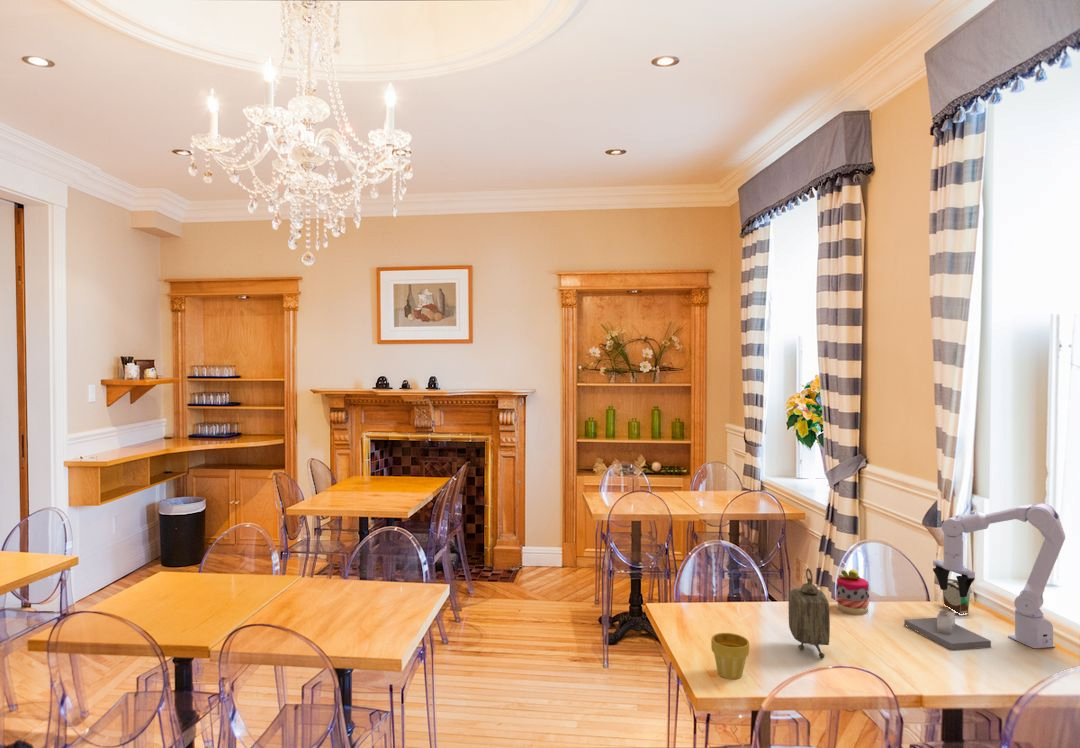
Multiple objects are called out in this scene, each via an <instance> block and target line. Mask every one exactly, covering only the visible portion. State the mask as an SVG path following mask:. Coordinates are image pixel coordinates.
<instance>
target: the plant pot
mask: <svg viewBox="0 0 1080 748" xmlns="http://www.w3.org/2000/svg"><path fill="white" fill-rule="evenodd" d="M710 640H711V643H710V644H711V651H712V652H713V655H714V659H715V660H714V661H715V665H716V671H717V674H718V675H719V676H720V677H721V678H724V679H728V680H739V679H741V678H742V677H743V673H744V668H745V664H746V659H747V657H749V655H750V640H749V639H748V638H746V637H745V636H742V635H740V634H736V633H733V632H719V633H715V634H713V635H712V637H711V639H710Z"/></svg>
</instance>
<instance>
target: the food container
mask: <svg viewBox="0 0 1080 748" xmlns="http://www.w3.org/2000/svg"><path fill="white" fill-rule="evenodd" d="M971 594H973V589H972V587H971V586H970V588H969V590H968V593H967V597H960V594H959V584H958V580H957V579H953V578H948V586H947V590H942V597H943V605H944V604H945V605H946V606H948V607H950V608H951V609H953V610H955V611H956V612H958V613H960V614H963V613H964V614H965V613H968V614H969V606H970V595H971Z"/></svg>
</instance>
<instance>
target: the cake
mask: <svg viewBox="0 0 1080 748" xmlns="http://www.w3.org/2000/svg"><path fill="white" fill-rule="evenodd" d="M837 576H838V577H837V578H836V579H837V580H836V582H837V585H836V590H837V594H836V597H837V599H836V602H837V610H838V611H840V612H842V613H844V614H848V615H853V616H864V615H863V614H866V613H867V612H868V613H869V604H870V600H869V597H870V595H869V581H867V580H866V579H864V578H862V577H860V575H859V572H858V571H857V570H855V569H850V570H849V571H848V572H847V570H845V569H842V570H841V574H838V575H837ZM868 613H867V614H868ZM867 614H866V615H867Z"/></svg>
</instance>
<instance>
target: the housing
mask: <svg viewBox="0 0 1080 748" xmlns="http://www.w3.org/2000/svg"><path fill="white" fill-rule="evenodd" d="M936 618H937V631H938V632H943V633H947V634H952V633H953V631H954V629H955V624H956V613H954V612H953V611H950V610H949V611H948V610H943V609H940V610H939V612H938V613H937V615H936Z"/></svg>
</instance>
